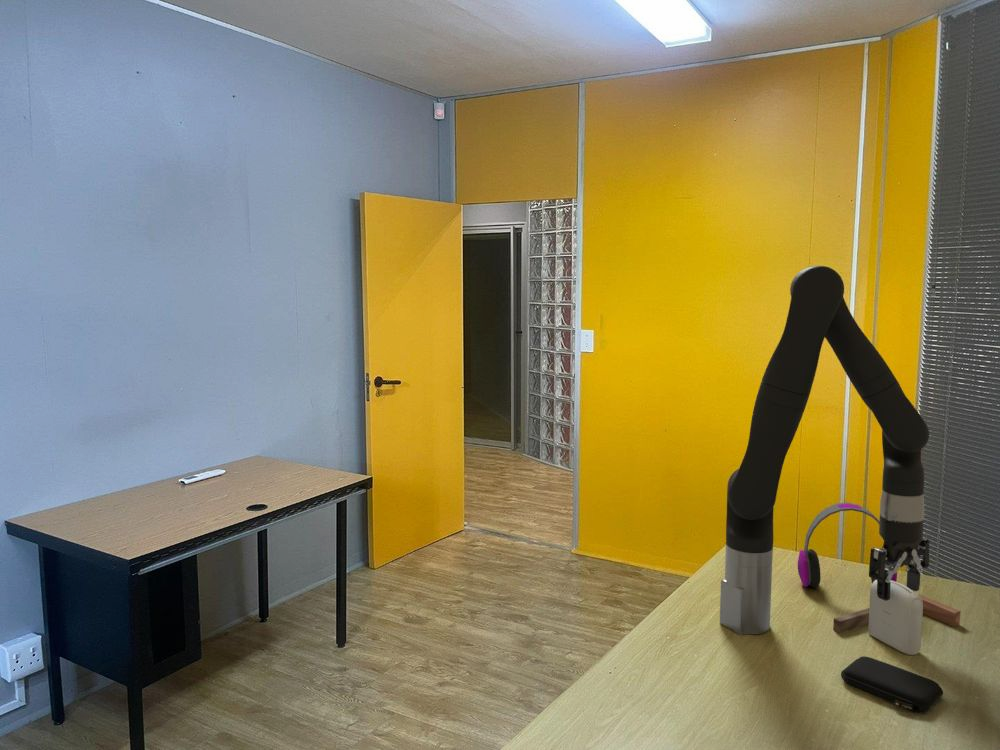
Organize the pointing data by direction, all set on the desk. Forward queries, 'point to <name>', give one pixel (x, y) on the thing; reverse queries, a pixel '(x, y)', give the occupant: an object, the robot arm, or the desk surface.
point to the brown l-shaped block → (929, 609)
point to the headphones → (809, 558)
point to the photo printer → (897, 618)
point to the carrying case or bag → (892, 684)
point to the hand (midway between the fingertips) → (898, 594)
